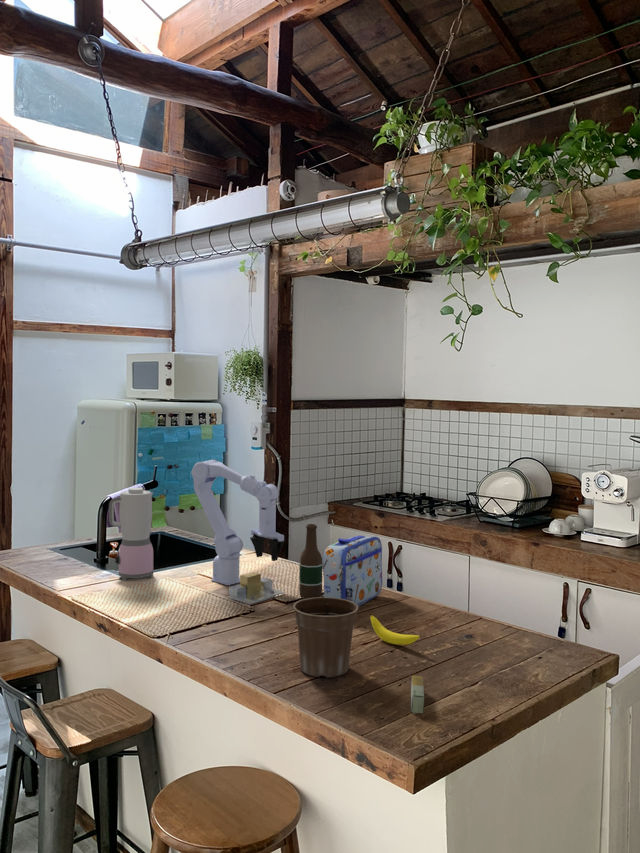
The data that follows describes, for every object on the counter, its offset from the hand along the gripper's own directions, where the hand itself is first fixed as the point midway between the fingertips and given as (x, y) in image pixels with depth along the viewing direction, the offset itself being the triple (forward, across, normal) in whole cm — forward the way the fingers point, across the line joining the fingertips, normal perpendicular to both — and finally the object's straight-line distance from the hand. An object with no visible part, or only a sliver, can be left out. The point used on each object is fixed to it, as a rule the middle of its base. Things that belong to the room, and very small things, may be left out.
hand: (266, 558), depth 258 cm
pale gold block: (+9, 0, -10) cm, 14 cm away
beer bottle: (+10, +18, +3) cm, 21 cm away
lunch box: (+10, +33, +7) cm, 35 cm away
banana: (+10, +65, -14) cm, 67 cm away
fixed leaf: (+10, +6, -10) cm, 15 cm away
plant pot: (+10, +63, -40) cm, 75 cm away
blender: (+10, -43, -26) cm, 51 cm away
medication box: (+10, +91, -40) cm, 99 cm away
